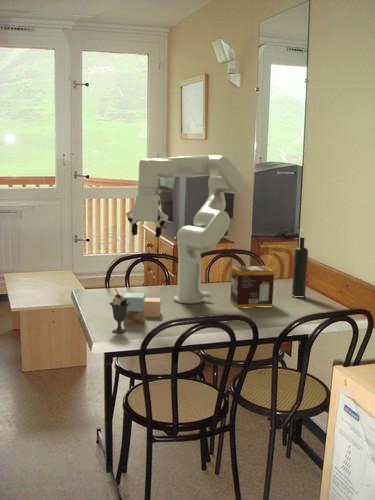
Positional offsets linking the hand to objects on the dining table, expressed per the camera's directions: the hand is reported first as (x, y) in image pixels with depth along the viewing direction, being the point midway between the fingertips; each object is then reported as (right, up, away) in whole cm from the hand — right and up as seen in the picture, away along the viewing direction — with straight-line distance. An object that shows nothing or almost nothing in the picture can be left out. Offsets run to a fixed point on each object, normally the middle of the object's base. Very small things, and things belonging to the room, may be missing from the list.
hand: (146, 236), depth 231 cm
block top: (-4, -27, -12) cm, 30 cm away
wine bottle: (+65, -26, +35) cm, 79 cm away
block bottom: (-4, -32, -11) cm, 34 cm away
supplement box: (+42, -28, +19) cm, 54 cm away
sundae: (-8, -34, -24) cm, 42 cm away
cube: (+2, -30, -1) cm, 30 cm away
